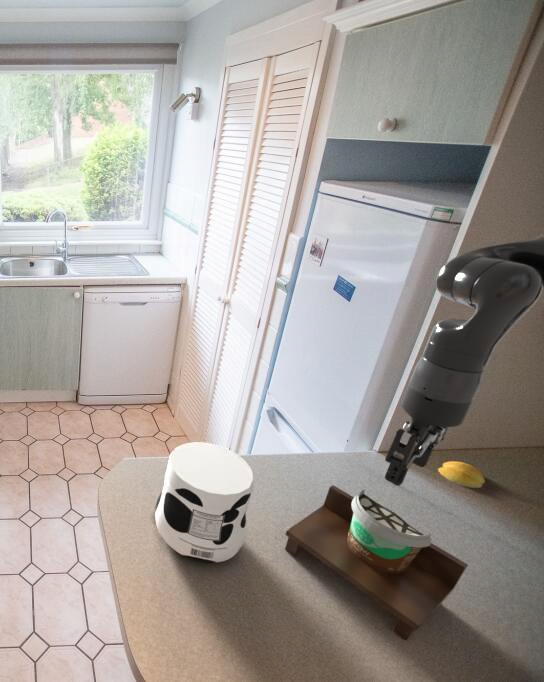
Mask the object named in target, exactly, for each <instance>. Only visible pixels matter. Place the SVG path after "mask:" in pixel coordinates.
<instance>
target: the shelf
mask: <svg viewBox="0 0 544 682" xmlns="http://www.w3.org/2000/svg"><path fill="white" fill-rule="evenodd" d="M325 496H326V497H325V499H324V502H323V504H322V505H321V506H320V507H319V508H317V509H316V510H315V511H313V512H311V513H310V514H308V515H307V516H306V517H304V518H303V519H301V520H299V521H298V522H297V523H295V524H294V525H292V526H291V527H290V528H288V529H287V530H286V531H285V536H287V541H286V543H285V547H284V550H285V551H286V552H288V553H289V554H290V555H292V556H293V557H295V556H296V555H298V554H300V553H301V552H302V551H303V550H306V551H307V552H308V553H309V554H311V555H313V556H314V557H315V558H316V559H318V560H319V561H320V562H322V563H323V564H325V566H327V567H328V568H330V569H332V570H333V571H334V572H335V573H337V574H338V575H340V577H342V578H344V579H345V580H347V581H348V582H349V583H350V584H352V585H353V586H354V587H356V588H357V589H358V590H360V591H361V592H363V593H364V594H366V596H368V597H369V598H370V599H373V600H374V601H375V602H376V603H377V604H379V605H381V606H382V607H383V608H384V609H386V610H388V612H390V613H391V614H393V615H394V616H396V617H397V618H398V619H397V621H396V623H395V624H394V626H393V628H392V632H393V633H394V634H396V635H397V636H398V637H399V638H401V639H402V640H403V641H405V642H407V641H408V640H409V639H410V638H411V637H412V635H414V633H416V631H418V630H420V628H421V627H422V625H423V624H424V623H425V622H426V621H427V620H428V619H429V618H430V617H431V615H433V614H434V612H435V611H436V610H437V609H438V608H439V607H440V605H441V604H442V603H443V602H444V601H445V600H446V599H447V598H448V596H449V595H450V594H452V592H453V591H454V590H455V588H456V587H457V585H458V584H459V581H460V580H461V578H462V576H463V575H464V573H465V571H466V569H467V568H468V566H469V564H468V563H466V562H465V561H463V560H461V559H459V558H458V557H456V556H454V555H452V554H450V552H447V551H446V550H444V549H442V548H441V547H439V546H437V545H435V544H433V543H432V542H431V543H430V546H427V547H422V548H421V550H420V551H419V552H418V554H417V555H416V556H415V558H414V559H413V560H412V562H411V563H410V564H409V566H408V567H407V568H406V570H405V571H403V572H400V573H389V572H384V571H381V570H378V569H376V568H373V567H371V566H369V565H368V564H366V563H364V562H363V561H362V560H360V559H359V558H358V557H357V556H356V555H355V554H354V553H353V552H352V551H351V549H350V547H349V545H348V540H347V538H348V534H349V530H350V526H351V521H352V517H353V510H352V506H351V504H352V501H353V499H354V498H355V496H353V495H351V494H349V493H347V492H346V491H344V490H342V489H340V488H339V487H337V486H336V485H334V484H332V485H330V486H329V488H328V491H327V494H326V495H325Z"/></svg>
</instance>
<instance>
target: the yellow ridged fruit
mask: <svg viewBox="0 0 544 682" xmlns="http://www.w3.org/2000/svg"><path fill="white" fill-rule="evenodd" d="M437 471H438V472H439V474H440V475H441V476H443V477H444V478H446V479H447V480H448V481H450V482H452V483H454V484H456V485H459V486H462V487H466V488H473V489H476V488H482V487H483V484H485V482H486V481H485V478H484V476H483V474H482V472H480V470H478V469H477V468H476V467H474V466H473V465H471V464H468V463H466V462H463V461H456V460H455V461H445V462H444V463H442V466H440V467H438V469H437Z"/></svg>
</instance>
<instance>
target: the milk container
mask: <svg viewBox="0 0 544 682" xmlns="http://www.w3.org/2000/svg"><path fill="white" fill-rule="evenodd" d="M253 488H254V474H253V470H252V468H251V467H250V465H249V463H248V462H247V460H245V459H244V458H242V457H241V456H240V455H239V454H238V453H236V452H234V451H232V450H230V449H228V448H226V447H225V446H221V445H218V444H215V443H211V442H203V441H193V442H185V443H183V444H181V445H179V446H176V448H174V449H173V451H171V452H170V454H169V458H168V461H167V467H166V471H165V475H164V483H163V488H162V490H161V492H160V494H159V496H158V497H157V500H156V502H155V509H154V510H155V512H154V513H155V514H154V516H155V525H156V528H157V531H158V533H159V535H160V536H161V538H162V540H163V541H164V542H165V544H166V545H167V546H168V547H169V548H171V549H172V550H173V551H174V552H176V553H177V554H179V555H180V556H183V557H184V558H186V559H188V560H191V561H194V562H198V563H205V564H217V563H223V562H226V561H227V560H229V559H231V558H233V557H234V556H235V555H237V553H238V552H239V551H240V549H241V547H242V546H243V545H244V541H245V539H246V535H247V530H248V529H247V525H248V524H247V511H248V507H249V505H250V500H251V496H252V493H253V490H254V489H253Z"/></svg>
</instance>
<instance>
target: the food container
mask: <svg viewBox="0 0 544 682" xmlns="http://www.w3.org/2000/svg"><path fill="white" fill-rule="evenodd" d="M365 491H366V489H365V488H364V489H362V490H361V491H359V492H358V493H357V494H356V495H355V496H354V499H353V501H352V504H351V506H352V510H353V517H352V521H351V526H350V530H349V534H348V538H347V540H348V545H349V547H350V549H351V551H352V552H353V553H354V554H355V555H356V556H357V557H358V558H359V559H360V560H362V561H363V562H364V563H366V564H368V565H369V566H371V567H373V568H376V569H378V570H381V571H384V572H389V573H400V572H403V571H405V570H406V568H407V567H408V566H409V564H410V563H411V562H412V560H413V559H414V558H415V556H416V555H417V554H418V552H419V551H420V550H421V548H422V547H427V546H430V543H432V537H431V536H432V534H431V533H429V534H424V533H422V532H420V531H419V530H417V529H416V528H414V527H413V526H412V525H410V524H409V523H408V522H407V521H405V520H404V519H403V518H402V517H401V516H399V515H398V514H397V513H395V512H394V511H392V510H391V509H389V508H387V507H385V506H383V505H382V504H380V503H378V502H376V501H375V500H374V499H372V498H371V497H370V496H368V495H366V494H365Z"/></svg>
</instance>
